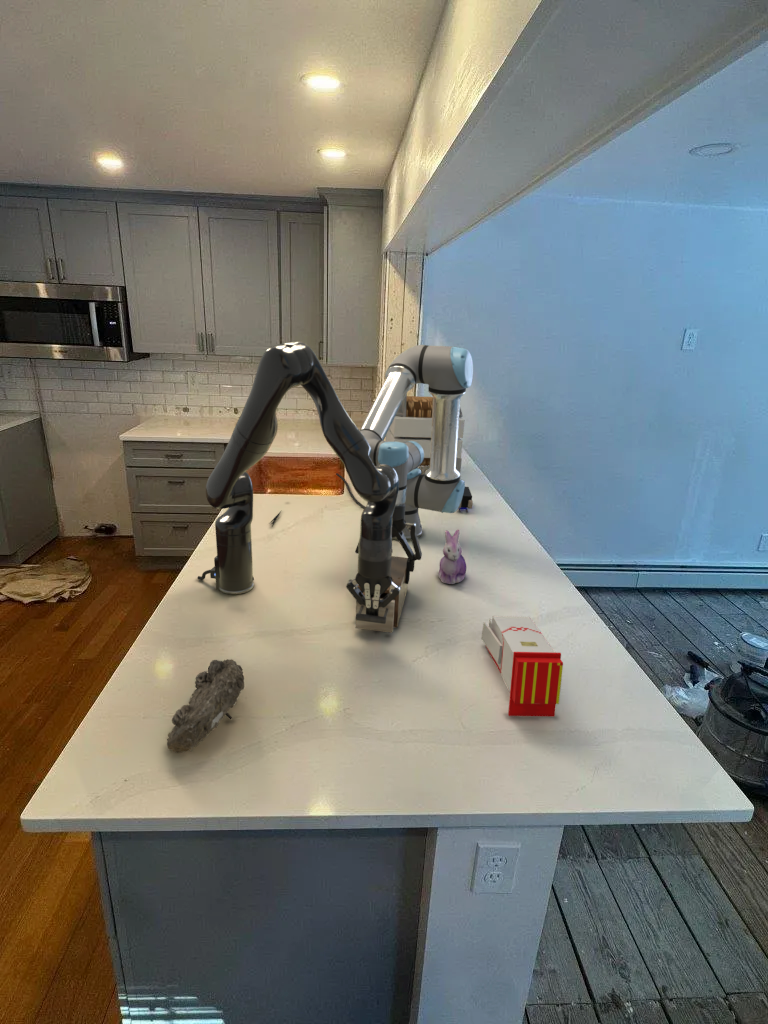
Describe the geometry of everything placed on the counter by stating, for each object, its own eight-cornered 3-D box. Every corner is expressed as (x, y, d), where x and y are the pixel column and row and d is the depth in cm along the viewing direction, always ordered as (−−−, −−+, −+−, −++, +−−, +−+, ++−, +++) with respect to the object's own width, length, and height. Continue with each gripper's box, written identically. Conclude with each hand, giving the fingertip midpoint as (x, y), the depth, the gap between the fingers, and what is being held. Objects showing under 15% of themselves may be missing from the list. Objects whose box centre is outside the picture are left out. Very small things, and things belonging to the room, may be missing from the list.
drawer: (388, 645, 132) (390, 614, 129) (350, 640, 133) (351, 609, 130) (402, 596, 154) (404, 569, 152) (369, 592, 156) (370, 565, 153)
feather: (288, 505, 226) (290, 501, 226) (271, 529, 199) (273, 524, 199) (284, 503, 226) (287, 499, 225) (266, 526, 199) (269, 522, 199)
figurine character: (472, 517, 222) (467, 501, 236) (475, 500, 219) (469, 484, 233) (455, 517, 222) (451, 500, 236) (457, 499, 219) (452, 484, 232)
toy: (528, 601, 136) (572, 659, 107) (523, 653, 139) (565, 722, 110) (478, 600, 136) (508, 657, 107) (474, 652, 139) (503, 722, 109)
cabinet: (397, 627, 141) (399, 591, 138) (356, 622, 143) (357, 586, 139) (407, 591, 160) (409, 557, 156) (371, 586, 161) (372, 553, 158)
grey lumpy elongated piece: (192, 660, 117) (244, 628, 112) (224, 691, 120) (276, 661, 115) (142, 746, 98) (202, 712, 93) (182, 779, 101) (242, 748, 96)
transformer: (382, 463, 289) (386, 382, 275) (445, 464, 293) (451, 384, 279) (390, 482, 257) (394, 392, 243) (460, 483, 261) (468, 394, 247)
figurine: (448, 588, 162) (452, 539, 157) (429, 573, 171) (432, 527, 166) (475, 582, 166) (480, 534, 161) (455, 568, 175) (459, 522, 170)
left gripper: (342, 557, 124) (340, 625, 131) (402, 563, 123) (397, 632, 129) (349, 543, 131) (347, 608, 138) (406, 549, 130) (401, 615, 136)
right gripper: (344, 502, 145) (343, 580, 152) (434, 511, 142) (427, 590, 149) (350, 494, 152) (349, 568, 159) (436, 502, 149) (430, 578, 156)
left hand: (372, 620), depth 133 cm, fingers closed
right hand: (387, 579), depth 154 cm, fingers closed on cabinet, 10 cm apart
